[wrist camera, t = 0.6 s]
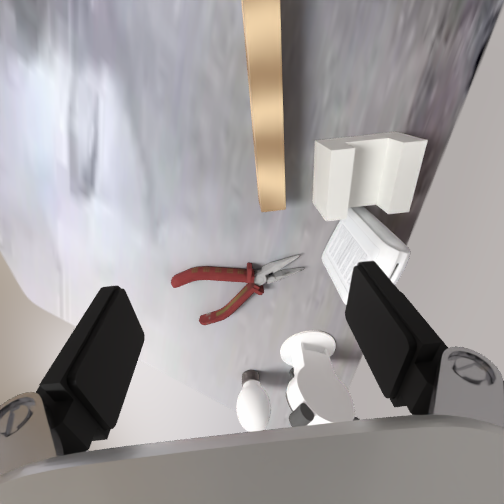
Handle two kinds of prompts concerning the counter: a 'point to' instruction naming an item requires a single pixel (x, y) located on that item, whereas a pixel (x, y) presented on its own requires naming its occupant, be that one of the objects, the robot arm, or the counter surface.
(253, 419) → the light bulb
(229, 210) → the counter surface
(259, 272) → the pliers
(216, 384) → the counter surface
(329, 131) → the counter surface
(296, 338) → the panda figurine
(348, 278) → the photo printer
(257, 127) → the slat
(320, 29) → the counter surface
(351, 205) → the end caps
